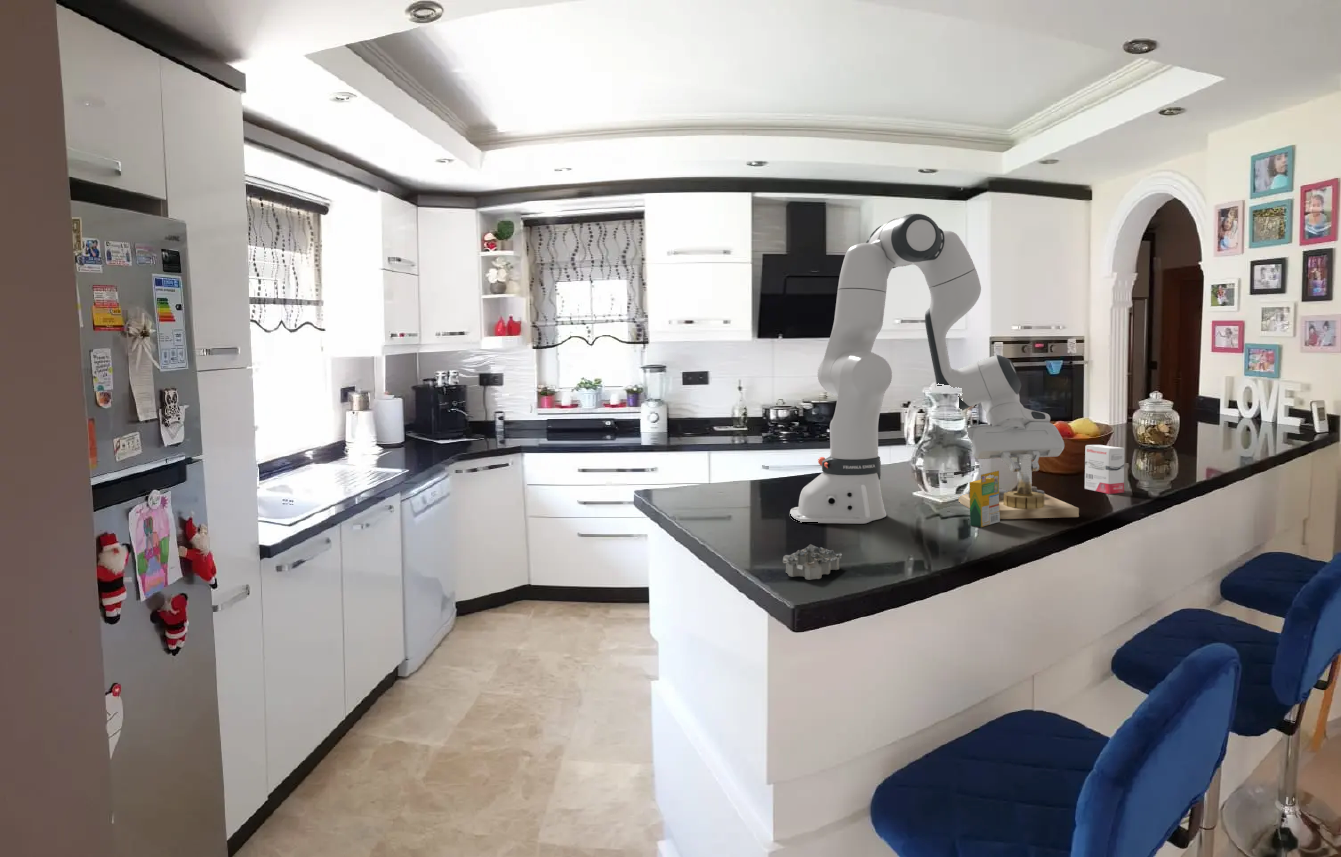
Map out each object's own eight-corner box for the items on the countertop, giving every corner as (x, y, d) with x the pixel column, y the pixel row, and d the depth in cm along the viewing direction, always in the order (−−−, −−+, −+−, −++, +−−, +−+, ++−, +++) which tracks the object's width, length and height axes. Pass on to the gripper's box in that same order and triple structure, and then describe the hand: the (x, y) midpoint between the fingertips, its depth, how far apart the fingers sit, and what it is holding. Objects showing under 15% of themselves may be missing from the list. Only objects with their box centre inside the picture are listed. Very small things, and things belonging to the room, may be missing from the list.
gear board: (987, 519, 169) (987, 499, 169) (958, 502, 189) (958, 484, 189) (1078, 516, 168) (1078, 497, 167) (1040, 499, 188) (1040, 481, 187)
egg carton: (814, 583, 129) (813, 560, 129) (778, 575, 134) (777, 553, 134) (846, 568, 137) (846, 546, 137) (811, 561, 142) (810, 540, 142)
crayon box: (987, 520, 169) (987, 469, 168) (1000, 522, 166) (1000, 470, 165) (969, 525, 164) (968, 473, 163) (981, 527, 162) (981, 474, 161)
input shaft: (1020, 494, 172) (1020, 455, 171) (1015, 491, 175) (1015, 453, 174) (1033, 493, 171) (1033, 454, 171) (1028, 491, 174) (1028, 453, 174)
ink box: (1125, 492, 192) (1126, 447, 191) (1108, 494, 191) (1109, 448, 190) (1099, 487, 200) (1099, 443, 199) (1083, 489, 199) (1083, 444, 198)
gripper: (967, 417, 179) (982, 463, 170) (1055, 413, 178) (1075, 460, 169) (961, 433, 184) (975, 479, 175) (1047, 430, 182) (1066, 476, 174)
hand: (1025, 470), depth 172 cm, fingers closed on input shaft, 3 cm apart
